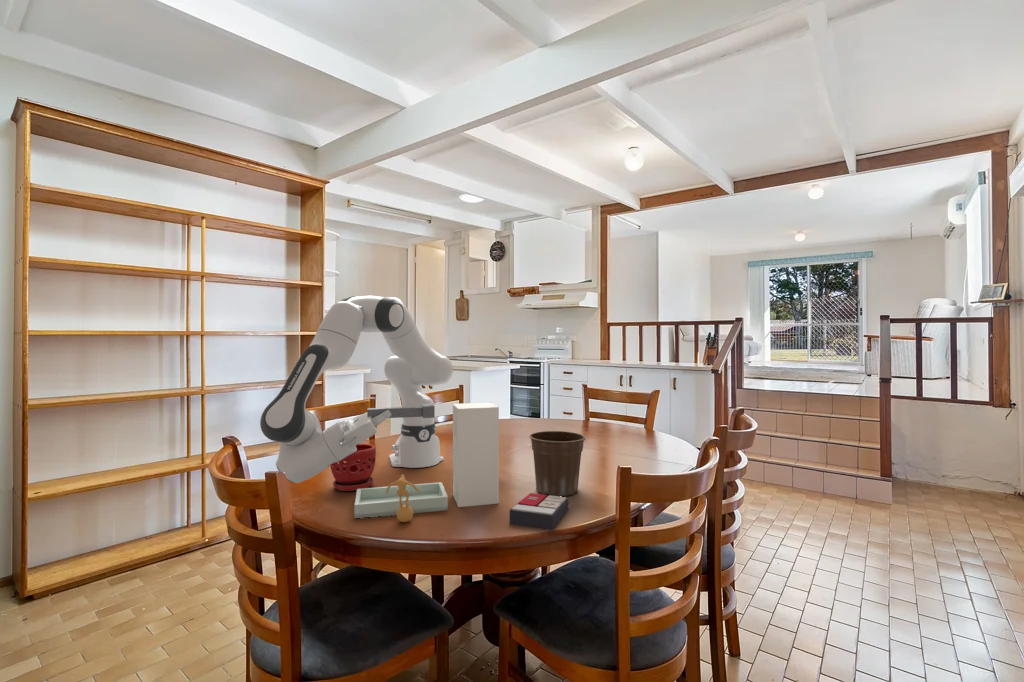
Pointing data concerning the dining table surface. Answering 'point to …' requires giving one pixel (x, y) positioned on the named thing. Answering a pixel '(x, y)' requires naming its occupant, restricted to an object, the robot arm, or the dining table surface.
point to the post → (475, 454)
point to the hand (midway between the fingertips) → (390, 411)
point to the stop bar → (405, 411)
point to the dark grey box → (539, 511)
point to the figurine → (404, 510)
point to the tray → (383, 504)
